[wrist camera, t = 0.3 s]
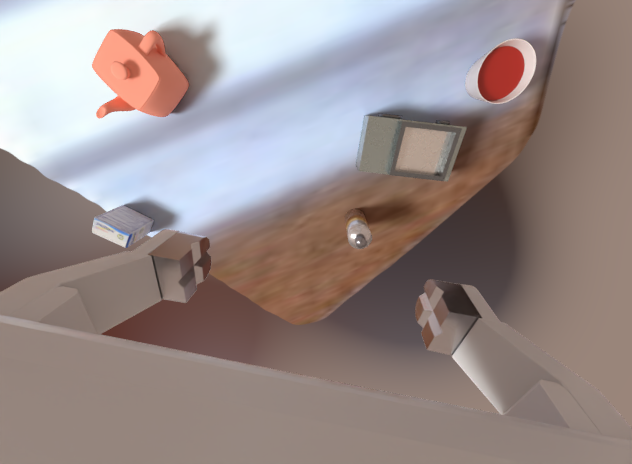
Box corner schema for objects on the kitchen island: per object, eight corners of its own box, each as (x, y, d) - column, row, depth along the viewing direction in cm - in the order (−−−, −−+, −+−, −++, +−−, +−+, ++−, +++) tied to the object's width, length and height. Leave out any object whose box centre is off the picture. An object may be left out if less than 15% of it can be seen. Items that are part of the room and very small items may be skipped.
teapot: (206, 71, 46) (176, 60, 37) (159, 138, 52) (122, 143, 43) (155, 15, 43) (107, -13, 34) (110, 94, 49) (58, 88, 39)
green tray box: (364, 112, 48) (371, 111, 41) (452, 122, 48) (473, 123, 41) (355, 165, 53) (359, 173, 46) (435, 174, 53) (452, 183, 46)
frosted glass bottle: (346, 207, 57) (351, 230, 46) (366, 209, 57) (376, 233, 46) (343, 225, 59) (347, 252, 48) (362, 227, 60) (371, 255, 48)
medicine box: (120, 217, 61) (90, 232, 53) (123, 203, 59) (93, 217, 52) (150, 232, 63) (125, 249, 55) (154, 219, 61) (129, 234, 53)
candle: (517, 49, 43) (546, 39, 37) (498, 105, 47) (522, 104, 41) (466, 48, 43) (487, 37, 37) (452, 104, 47) (469, 103, 41)
